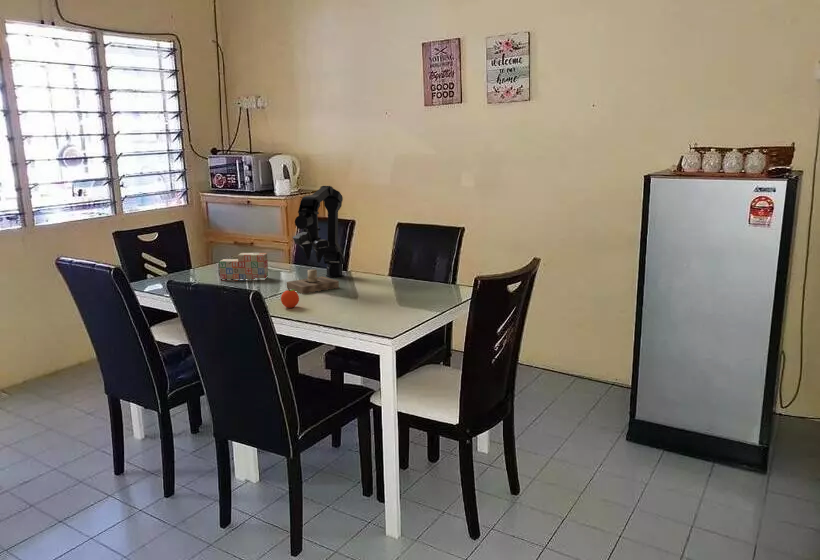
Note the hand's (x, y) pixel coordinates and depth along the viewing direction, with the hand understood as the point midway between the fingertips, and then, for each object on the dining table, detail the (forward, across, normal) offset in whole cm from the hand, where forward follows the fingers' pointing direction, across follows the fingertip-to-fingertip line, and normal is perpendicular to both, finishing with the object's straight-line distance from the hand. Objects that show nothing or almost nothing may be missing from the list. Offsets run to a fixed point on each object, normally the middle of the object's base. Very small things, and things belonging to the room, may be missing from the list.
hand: (313, 261), depth 286 cm
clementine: (+11, +26, -25) cm, 38 cm away
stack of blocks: (+12, -37, -17) cm, 42 cm away
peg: (+12, +2, -2) cm, 12 cm away
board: (+12, +2, -2) cm, 12 cm away
